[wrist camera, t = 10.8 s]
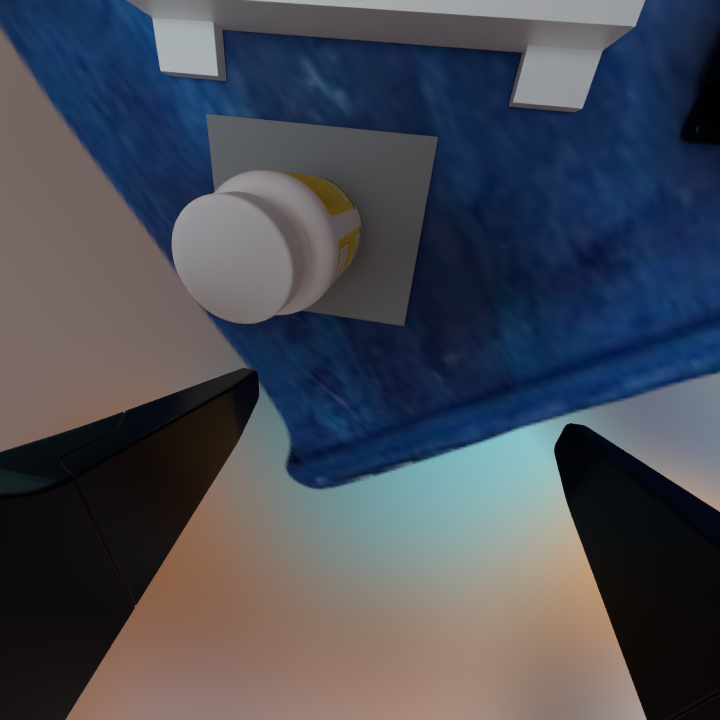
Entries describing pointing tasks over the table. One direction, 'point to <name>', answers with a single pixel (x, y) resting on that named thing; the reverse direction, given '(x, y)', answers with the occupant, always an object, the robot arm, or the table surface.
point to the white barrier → (411, 34)
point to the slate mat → (363, 184)
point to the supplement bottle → (265, 244)
